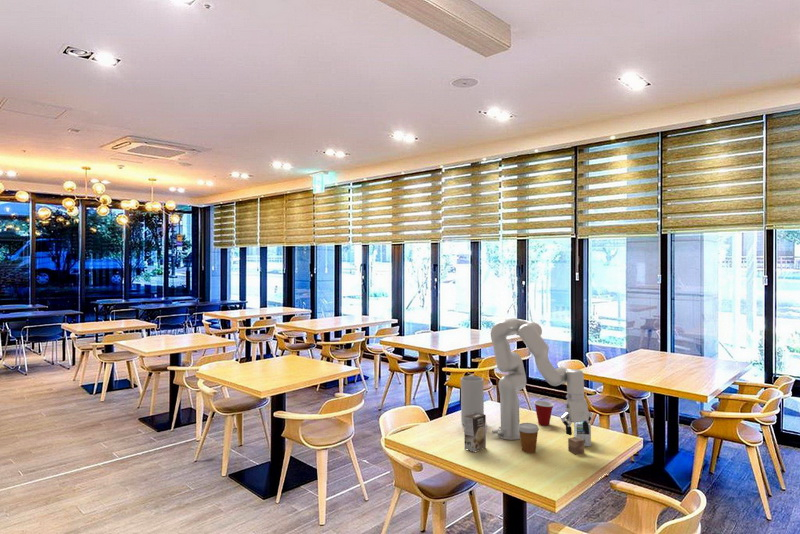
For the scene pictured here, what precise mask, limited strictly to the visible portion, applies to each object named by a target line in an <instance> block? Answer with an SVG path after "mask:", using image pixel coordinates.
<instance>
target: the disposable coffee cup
mask: <svg viewBox="0 0 800 534" xmlns="http://www.w3.org/2000/svg"><path fill="white" fill-rule="evenodd" d="M518 429H519V432H520V439H519V440H520V446H521V452H522V453H526V454H535V453H536V451H537V450H536V449H537V444H538V434H539V430H540V428H539V426H538V425H537V424H536V423H532V422H522V423H521V422H520V423H519V427H518Z"/></svg>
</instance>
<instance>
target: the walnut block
mask: <svg viewBox="0 0 800 534" xmlns="http://www.w3.org/2000/svg"><path fill="white" fill-rule="evenodd" d="M567 440H568V441H567V442H568V443H567V447H568V449H567V450H568V452H570V453H572V454H573V455H580V454H584V453H585V446H584V440H582V439H580V438H578V437H574V436H573V437H568V438H567Z"/></svg>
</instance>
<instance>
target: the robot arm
mask: <svg viewBox="0 0 800 534" xmlns="http://www.w3.org/2000/svg"><path fill="white" fill-rule="evenodd" d="M542 334H543V329H542V326H541V325H539V323H537V322H534V321H530V320H525V319H520V318H509V319H508V318H507V319H502V320H499V321H497V322H496V323H494V324H493V326H492V327H491V330H490V339H491V342H492V347H493V352H494V357H495V362H496V367H497V368H498V371H499V372H502V373H508V374H505V375H503V376H501V378H500V379H499V380H498V384H497V385H498V391H499V399H500V400H499V404H500V407H499V408H500V426H498V428H497V429H492V431H491V432H492V435H494V434H495V435H496V434H497V437H498V438H500V439H502V438H503V440H509V441H516V440H520V432H519V429H518V427H519V424H520V398H519V395H518V392H519V391H522V390H523V389H524V388H525V387H526V385H527V376H526V370H525V367H524V362H523V359H522V358H523V357H521V355H520V354H519V353H517V352H516V351H512V350H511V345H510V342H509V340H508V339H507V337H509V336H514V335H516V336H517V335H518V336H519V338H520V339H521V340H522V342H523V343H524V344H525V346H526V347H527V349H528V350H529V351H530V353H531V354H532V356H533V357H534V362H535V365H536V368H537V370H538V372H539V373H540V375H541V376H542V378H543V379H544V380H545V382H546V383H548V384H549V385H550V386H553V387H558V386H560V385H563V384H566V391H567V393H566V395H565V398H566V402H565V413H564V414H563V415H561V417H560V420H561V421H562V424H563V425H564V426H565V433H566V435H569V436H572V435H573V434H572V433H573V432H572V424H574V423H576V422H582V421H584V422H583V431H585V432H589V423H590V422H591V420H592V417H593V412H591V411H589V406H588V403H587V399H586V398H585V377H584V372H583V370H582V369H581V370H580V369H571V368H567V367H563V366H562V367H561V366H560V367H557V368H555V367H554V366H553V365H552V363H551V361H550V359H549V345H548V344H547V343H546V341H545V340H544V339H543V337H542ZM590 424H591V423H590Z"/></svg>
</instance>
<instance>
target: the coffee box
mask: <svg viewBox="0 0 800 534" xmlns="http://www.w3.org/2000/svg"><path fill="white" fill-rule="evenodd" d="M486 417H487V416H486V414H485V413H484V414H480V413H473V414H469V415H466V416H464V424H463V425H464V438H463V439H464V444H463V445H464V450H465V449H468V450H470V451H469V452H472V451H473V452H472V453H476V452H475V451H477V452H479V451H481V450H480V449H482V448H484V449H486V448H485V447H487V443H486V442H487V441H486V440H487V439H486V438H487V435H486V434H487V429H486V428H487V425H486V424H487V421H486V420H487V419H486ZM468 450H467V451H468ZM478 450H479V451H478ZM482 450H483V449H482Z"/></svg>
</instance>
